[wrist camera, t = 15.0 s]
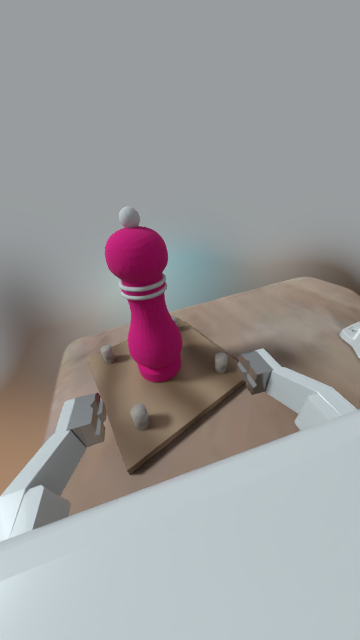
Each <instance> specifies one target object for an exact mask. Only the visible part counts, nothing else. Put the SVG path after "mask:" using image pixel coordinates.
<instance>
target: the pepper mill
mask: <svg viewBox="0 0 360 640" xmlns="http://www.w3.org/2000/svg"><path fill="white" fill-rule="evenodd" d="M119 220H120V222H121V224H122V225H123V226H124V227H125V228H123V229H120V230H118V231H116V232H115V233H114V234H112V235H111V236H110V238H109V239H108V241H107V243H106V246H105V257H106V262H107V265H108V268H109V269H110V271H111V272H112V273H113V274H114V275H115V276H117V277H118V278H120V279H121V281H120V282H119V287H120V288H121V294H122V296H123V297H124V298H126V299H127V300H128V302H129V305H130V309H131V324H130V330H129V334H128V348H129V352H130V355H131V357H132V358H133V360H134V361H135V362H137V364H138V368H139V371H140V374H141V375H142V377H143V378H145V379H146V380H148V381H151V382H163V381H167V380H169V379H171V378H172V377H174V376H175V375H176V374H177V373H178V372H179V370H180V368H181V355H180V352H181V350H182V346H183V341H182V336H181V332H180V330H179V328H178V326H177V324H176V323H175V322H174V320H173V319H172V317H171V316H170V314H169V312H168V310H167V307H166V304H165V298H164V292H165V290H166V289H167V284H166V282H165V281H166V276H165V275H164V274H163V273H162V272H163V270H164V268H165V267H166V265H167V261H168V253H167V249H166V245H165V242H164V240H163V239H162V237H161V236H160V235H159V234H158V233H157V232H155V231H154V230H152V229H149V228H146V227H140V226H138V225H139V222H140V217H139V214H138V212H137V211H136V210H135V209H134V208H131V207H124V208H123V209H122V210H121V211H120V213H119Z"/></svg>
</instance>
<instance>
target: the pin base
mask: <svg viewBox="0 0 360 640" xmlns="http://www.w3.org/2000/svg"><path fill="white" fill-rule="evenodd" d="M172 319H173V320H174V322H175V323H176V324H177V326H178V328H179V330H180V332H181V336H182V341H183V346H182V350H181V352H180V355H181V368H180V370H179V372H178V373H177V374H176V375H175V376H174V377H172V378H171V379H169V380H167V381H163V382H151V381H148V380H146V379H145V378H143V377H142V375H141V374H140V371H139V368H138V364H137V362H135V361H134V360H133V358H132V357H131V355H130V352H129V348H128V340H127V341H124V342H122V343H120V344H118V345H116V346H113V347H111V346H110V345H105V346H103V347H102V348H101V349H100V351H101V352H100V353H98V354H96V355H93V356H91V357H89V358H87V359H88V362H89V365H90V368H91V370H92V373H93V376H94V379H95V382H96V384H97V387H98V390H99V393H100V396H101V398H102V401H103V402H104V404H105V407H106V412H107V415H108V418H109V421H110V424H111V427H112V429H113V432H114V435H115V438H116V441H117V443H118V446H119V449H120V452H121V455H122V457H123V460H124V463H125V466H126V469H127V471H128V472H129V474H130V475H131V474H132V473H133V472H135V471H136V470H137V469H138V468H140V467H141V466H142V465H143V464H145V463H146V462H147V461H148V460H149V459H151V458H152V457H153V456H154V455H156V454H157V453H158V452H159V451H161V450H162V449H163V448H164V447H166V446H167V445H168V444H169V443H171V442H172V441H173V440H174V439H176V438H177V437H178V436H179V435H181V434H182V433H183V432H184V431H186V430H187V429H188V428H189V427H190V426H192V425H193V424H194V423H195V422H197V421H198V420H199V419H200V418H202V417H203V416H204V415H205V414H207V413H208V412H209V411H210V410H212V409H213V408H214V407H215V406H217V405H218V404H219V403H220V402H222V401H223V400H224V399H225V398H227V397H228V396H229V395H230V394H231V393H233V392H234V391H235V390H236V389H238V388H239V387H240V386H241V385H243V384H244V383H245V382H246V381H244V380H242V379H241V378H240V376H239V374H238V372H237V364H238V363H239V362H238V361H237V360H235V359H234V358H233V357H231V356H230V355H229V354H227V353H226V352H224V351H223V350H222V349H220V348H219V347H218V346H216V345H215V344H214V343H212V342H211V341H209V340H208V339H207V338H205V337H204V336H203V335H201V334H200V333H199V332H197V331H196V330H194V329H193V328H192V327H190V326H189V325H188V324H186V323H185V322H183V321H182V320H181V319H179V318H176V317H174V316H172Z"/></svg>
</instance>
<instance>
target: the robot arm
mask: <svg viewBox="0 0 360 640" xmlns="http://www.w3.org/2000/svg"><path fill="white" fill-rule="evenodd" d="M339 335H340V337H341V338H342V339H343V340H345V341H346V342H347V343H348V344H350V345H351V346H352V347H353V349H354V350H355V352H356V354H357V356H358V357H359V358H360V321H359V322H357V323H355V324H353V325H351V326H349V327H346V328H344V329H343V330H342V331H341V332H340V334H339ZM238 360H239V363H238V364H237V372H238V374H239V376H240V378H241V379H242V380H244V381H246V387H247V388H248V390H249V391H250V393H251V394H252V395H254V394H257V393H261V392H265V391H266V393H268V394H269V395H271V396H272V397H274V398H275V399H277V400H278V401H280V402H281V403H283V404H284V405H286V406H287V407H289V408H290V409H292V410H294V411H295V412H297V413H298V416H297V418H296V419H295V424H296V425H297V427H298V428H299V429H300V430H301V431H298V432H296V433H293V434H290V435H288V436H285V437H282V438H279V439H277V440H274V441H271V442H269V443H266V444H263V445H261V446H258V447H255V448H252V449H250V450H247V451H244V452H242V453H239V454H236V455H234V456H231V457H228V458H225V459H223V460H220V461H217V462H215V463H212V464H209V465H206V466H204V467H201V468H198V469H196V470H193V471H190V472H188V473H185V474H182V475H179V476H177V477H174V478H171V479H169V480H166V481H163V482H161V483H158V484H155V485H152V486H150V487H147V488H144V489H142V490H139V491H136V492H133V493H131V494H128V495H125V496H123V497H120V498H117V499H115V500H112V501H109V502H106V503H104V504H101V505H98V506H96V507H93V508H90V509H88V510H85V511H82V512H79V513H77V514H74V515H71V516H69V510H70V502H69V501H68V500H66V499H64V498H63V497H61V496H60V495H61V493H62V492H63V490H64V488H65V486H66V484H67V483H68V481H69V479H70V477H71V475H72V474H73V472H74V470H75V468H76V467H77V465H78V463H79V461H80V459H81V458H82V456H83V454H84V452H85V450H86V447H89V446H92V445H95V444H98V443H101V442H104V436H105V427H104V425H103V423H104V421H105V420H106V407H105V404H104V402H103V401H101V400H100V395H99V393H95V394H91V395H87V396H83V397H78V398H74V399H71V400H67V401H66V402H65V403H64V405H63V408H62V411H61V415H60V418H59V421H58V424H57V428H56V431H55V434H54V435H52V436H50V438H49V439H48V440H47V441H46V442H45V443H44V445H43V446H42V447H41V448H40V449H39V451H38V452H37V453H36V454H35V456H34V457H33V458H32V459H31V460H30V461H29V463H28V464H27V465H26V466H25V468H24V469H23V470H22V471H21V472H20V473H19V475H18V476H17V477H16V478H15V479H14V481H13V482H12V483H11V484H10V485H9V486H8V488H7V489H6V490H5V491H4V493H3V494H2V495H1V496H0V640H360V409H358V410H357V409H356V408H355V407H354V406H353V405H351V404H350V403H349V402H348V401H347V400H346V399H345V398H344V397H342V396H341V395H340V394H339V393H338V392H337V391H336V390H334V389H333V388H332V387H330V386H328V385H325V384H323V383H321V382H318V381H316V380H314V379H311V378H309V377H307V376H304V375H302V374H300V373H297V372H295V371H293V370H290V369H288V368H285V367H283V368H282V367H281V366H280V365H279V364H278V363H277V362H276V361H275V360H274V359H273V358H272V357H271V356H270V355H269V354H268V353H267V352H266V351H265V350H264V349H258V350H255V351H250V352H247V353H243V354H240V355H239V356H238ZM68 516H69V517H68Z"/></svg>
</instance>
